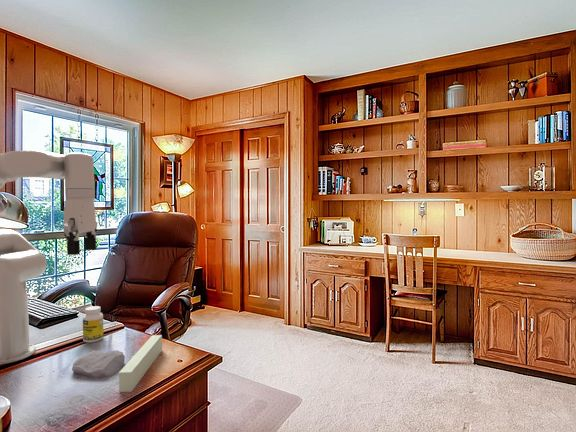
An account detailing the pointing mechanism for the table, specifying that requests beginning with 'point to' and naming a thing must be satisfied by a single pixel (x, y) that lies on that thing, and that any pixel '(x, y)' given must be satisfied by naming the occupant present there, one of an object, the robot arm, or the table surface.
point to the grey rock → (99, 363)
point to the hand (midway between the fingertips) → (82, 252)
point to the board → (139, 364)
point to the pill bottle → (93, 324)
